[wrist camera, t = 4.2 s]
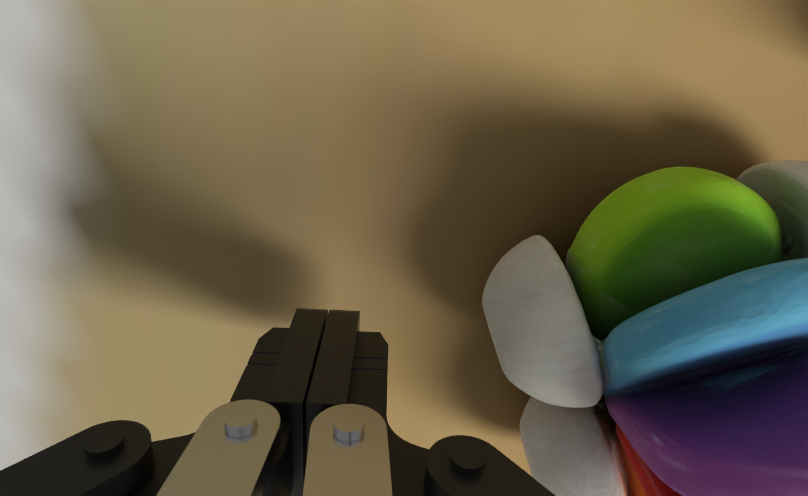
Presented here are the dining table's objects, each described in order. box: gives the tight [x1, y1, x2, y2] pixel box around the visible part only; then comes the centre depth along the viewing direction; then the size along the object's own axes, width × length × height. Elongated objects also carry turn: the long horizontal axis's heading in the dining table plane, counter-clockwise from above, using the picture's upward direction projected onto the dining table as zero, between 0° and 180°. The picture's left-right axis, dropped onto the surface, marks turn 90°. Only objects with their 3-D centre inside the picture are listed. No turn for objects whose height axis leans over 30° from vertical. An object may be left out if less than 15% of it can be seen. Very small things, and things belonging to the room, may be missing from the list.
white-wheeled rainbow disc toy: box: [482, 160, 808, 496], centre depth 11 cm, size 8×10×7 cm
